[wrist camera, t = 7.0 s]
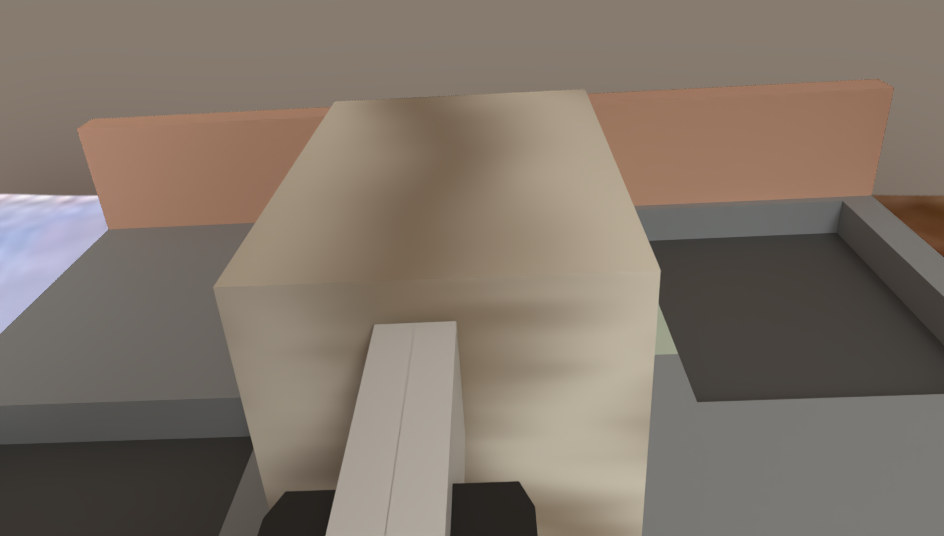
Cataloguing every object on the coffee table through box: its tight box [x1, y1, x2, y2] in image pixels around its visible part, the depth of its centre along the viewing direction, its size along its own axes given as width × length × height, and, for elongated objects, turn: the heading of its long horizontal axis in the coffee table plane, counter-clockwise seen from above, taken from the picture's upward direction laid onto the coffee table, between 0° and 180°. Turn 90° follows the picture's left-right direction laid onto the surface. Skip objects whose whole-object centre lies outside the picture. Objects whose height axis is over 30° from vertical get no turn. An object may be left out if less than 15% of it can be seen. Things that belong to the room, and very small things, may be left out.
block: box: [213, 89, 661, 536], centre depth 21 cm, size 8×12×8 cm, turn 179°
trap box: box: [0, 79, 944, 536], centre depth 23 cm, size 36×30×7 cm
